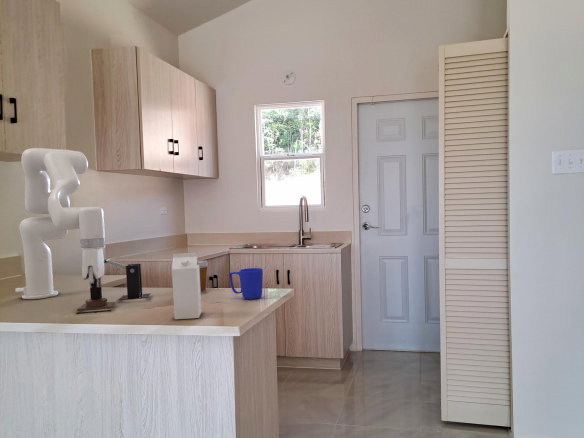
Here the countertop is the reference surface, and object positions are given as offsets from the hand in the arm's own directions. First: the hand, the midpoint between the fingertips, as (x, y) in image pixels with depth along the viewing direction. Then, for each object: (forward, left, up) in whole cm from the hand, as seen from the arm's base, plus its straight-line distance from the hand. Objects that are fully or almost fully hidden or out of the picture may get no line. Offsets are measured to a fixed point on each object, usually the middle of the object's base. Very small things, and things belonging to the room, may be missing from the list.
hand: (96, 299), depth 155 cm
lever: (+5, +14, +8) cm, 17 cm away
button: (0, 0, -2) cm, 2 cm away
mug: (+50, +1, -4) cm, 50 cm away
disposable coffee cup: (+32, +18, -4) cm, 37 cm away
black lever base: (+10, +14, -4) cm, 18 cm away
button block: (0, 0, -4) cm, 4 cm away
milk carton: (+31, -20, -4) cm, 37 cm away
